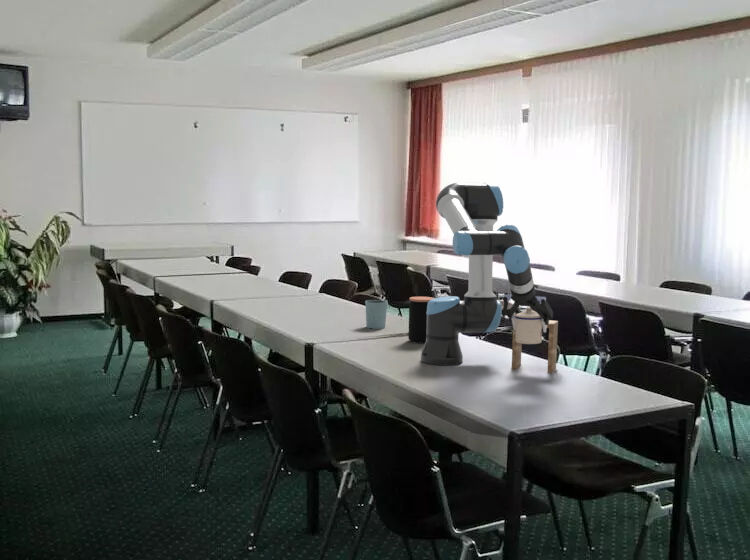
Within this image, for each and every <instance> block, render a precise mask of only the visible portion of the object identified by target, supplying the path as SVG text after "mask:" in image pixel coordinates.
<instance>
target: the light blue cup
mask: <svg viewBox="0 0 750 560" xmlns="http://www.w3.org/2000/svg"><path fill="white" fill-rule="evenodd" d="M364 303H365V320H366V322H365V326H366V328H367V329H370V328H372V329H371V330H383V329H385V328H386V322H387V311H388V310H387V309H388V300H381V299H367V300H365V301H364ZM382 328H383V329H382Z"/></svg>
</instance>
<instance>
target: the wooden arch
mask: <svg viewBox="0 0 750 560" xmlns="http://www.w3.org/2000/svg"><path fill="white" fill-rule="evenodd" d="M542 329H543V326H542ZM547 329H548V347H547V348H548V352H547V353H548V354H547V373H548V374H553V372H555V370H556V369H557V356H558V355H557V354H558V352H557V350H558V349H557V348H558V331H559V320H553V319H551V320H550V319H549V324H548V325H547ZM522 346H523V344H522V343H517V342H516V330H514V328H513V327H512V346H511V347H512V348H511V349H512V350H511V370H517V369H518V368H519V367H520V366H521V365H522Z"/></svg>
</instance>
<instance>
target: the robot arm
mask: <svg viewBox="0 0 750 560" xmlns="http://www.w3.org/2000/svg"><path fill="white" fill-rule="evenodd" d="M435 207H436V211H437V213H438V214H439V216H440V217H442V218H443V219H445V221H446V222H447V225H448V226H449V228H450V230H451V232H452V234H453V237H452V247H453V248H452V249H453V250H452V251H453V252H454V253H455V255H460V256H468V286H467V288H468V290H467V291H466V293H465V294H464V295H463V296H464V297H463V300H461V299H460V297H459V296H456V295H454V296H452V295H451V296H450V295H449V296H448V295H447V296H439V297H433V298H434V299H431V300H430V301H429V302H428V305H427V312H426V314H427V329H426V342H425V343H424V346H423V348H422V351H421V353H420V361H421V362H422V363H424V364H428V365H434V366H452V365H453V366H454V365H455V366H456V365H459V364H460V365H461V364H462V363H463V361H464V360H463V359H464V357H463V352H462V349H461V345H460V343H459V334H461V333H463V334H464V333H481V334H485V333H492V332H495V331H496V330H497V329H498V328H499V326H500V323H501V319H502V317H506V316H507V318H508V322H509V323H512V329H513V328H514V330H516V318H515V316H516V314H517V313H516V311H517V309H519V307H530V308H531V309H532V310H533V311H535V312H537V313H538V314H539V315H540V316H541V317H542V320H541V321H542V326H543V328H542V333H547V329H548V328H547V325H548V324H549V320H553V318H554V311H553V309H552V307H551V305H550V304H549V302H548V301H547V296H546V294H542V296H539V295H537V294H536V290H535V285H534V284H535V283H534V278H533V274H532V268H531V260H530V257H529V256H530V255H529V253H528V250H527V249H526V248H525V245H524V240H523V236H522V234H521V232H520V231H519V229H518V227H517V226H516V225H513V224H505V225H501V226H500V227H499V228H498V229H497V230H496V231H495V230H494V225H495V223H496V222H498V217H500V216H502V214H503V212H504V210H503V209H504V197H503V193H502V191H501V189H500V187H499V185H497V184H495V183H489V182H455V183H454V182H453V183H451V184H448V185H446V186H445V187H444V188H442V189H441V191H439V193H438V195H437V197H436V199H435ZM493 256H502V260H503V264H504V266H505V270H506V275H507V280H508V284H509V288H510V293H511V294H509V293H508V292H504V294H503V297H502V300H503V307H502V303H501V302H500V300H498V299H497V295H496V294H495V293H494V292H493V264H494V263H493V260H494V259H493ZM511 300H512V301H513V302H514V303H513V304H512V305H511V307H510V308H508V307H509V302H510V301H511Z"/></svg>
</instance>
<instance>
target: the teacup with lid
mask: <svg viewBox="0 0 750 560" xmlns="http://www.w3.org/2000/svg"><path fill="white" fill-rule="evenodd" d="M515 314H516V316H515V318H516V342H517V343H522V345H537V344H541V343H542V340H543V328H542V321H541V320H542V317H541V316H540V315H539V314H538V313H537V312H536V311H535V310H533V309H531V308H530V307H528V306H526V308H525V310H522V311H521V312H519V313H515Z"/></svg>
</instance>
